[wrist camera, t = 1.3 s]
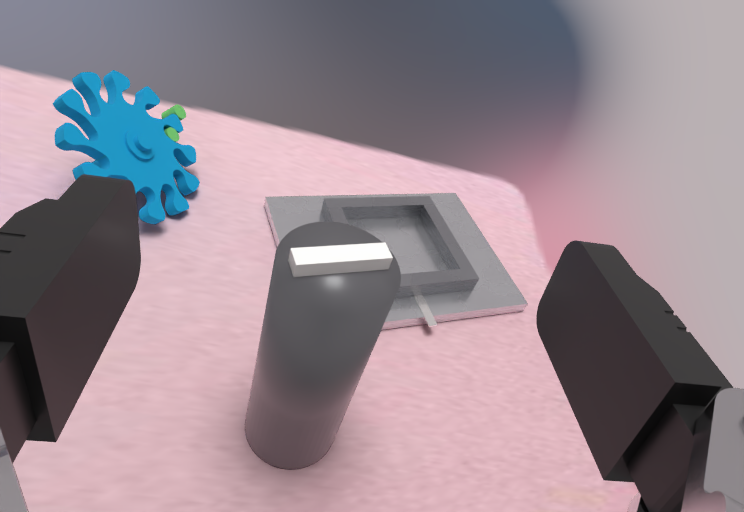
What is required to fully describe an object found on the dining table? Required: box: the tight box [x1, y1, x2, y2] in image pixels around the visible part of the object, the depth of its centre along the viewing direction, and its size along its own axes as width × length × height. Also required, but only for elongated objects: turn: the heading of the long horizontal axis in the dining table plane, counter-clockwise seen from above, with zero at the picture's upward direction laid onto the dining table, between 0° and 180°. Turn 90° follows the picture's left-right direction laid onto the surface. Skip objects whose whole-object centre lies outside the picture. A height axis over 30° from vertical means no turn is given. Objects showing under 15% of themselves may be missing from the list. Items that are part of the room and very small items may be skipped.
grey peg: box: [245, 222, 401, 469], centre depth 23 cm, size 5×5×13 cm
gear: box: [53, 70, 200, 224], centre depth 35 cm, size 11×6×10 cm
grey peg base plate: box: [264, 193, 528, 330], centre depth 37 cm, size 16×13×2 cm
